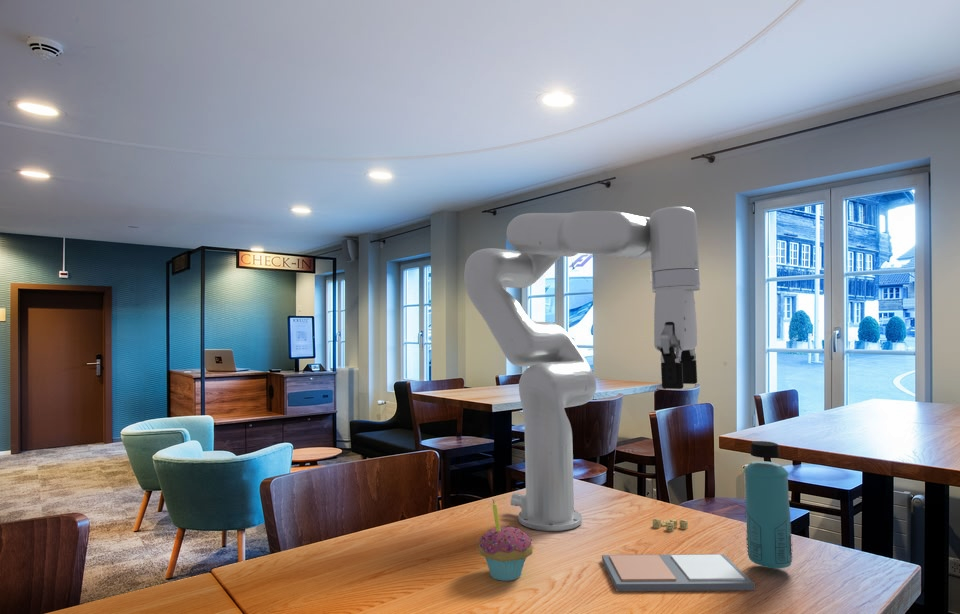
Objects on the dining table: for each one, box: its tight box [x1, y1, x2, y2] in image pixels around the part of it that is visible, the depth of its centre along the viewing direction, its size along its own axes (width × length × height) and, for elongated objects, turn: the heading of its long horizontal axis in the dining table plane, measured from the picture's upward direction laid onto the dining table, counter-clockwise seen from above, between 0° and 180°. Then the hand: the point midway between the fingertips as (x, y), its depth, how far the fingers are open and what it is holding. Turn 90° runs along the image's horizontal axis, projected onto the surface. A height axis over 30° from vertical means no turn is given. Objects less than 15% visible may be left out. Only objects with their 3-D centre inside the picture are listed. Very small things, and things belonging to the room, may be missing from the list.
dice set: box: [652, 518, 689, 532], centre depth 112 cm, size 5×5×2 cm
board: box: [601, 553, 756, 592], centre depth 90 cm, size 20×11×1 cm, turn 89°
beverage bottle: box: [743, 440, 794, 569], centre depth 92 cm, size 6×7×20 cm
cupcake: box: [478, 498, 534, 582], centre depth 91 cm, size 9×8×12 cm
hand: (680, 385), depth 95 cm, fingers open, 9 cm apart
